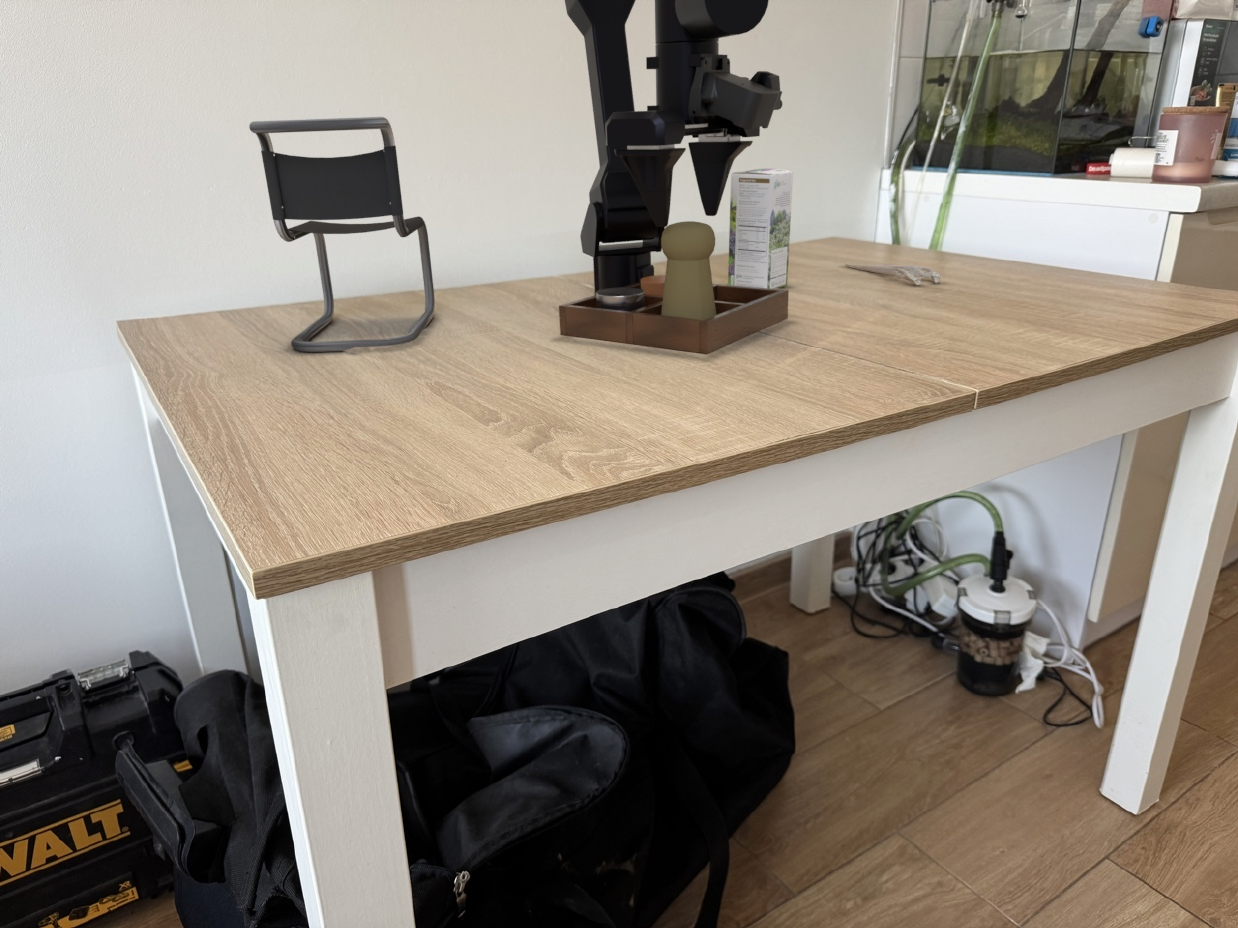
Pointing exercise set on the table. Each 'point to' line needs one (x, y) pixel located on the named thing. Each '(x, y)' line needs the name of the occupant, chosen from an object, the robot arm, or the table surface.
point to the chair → (339, 208)
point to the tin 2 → (653, 284)
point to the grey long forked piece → (901, 272)
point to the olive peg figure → (688, 270)
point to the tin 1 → (620, 299)
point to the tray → (678, 320)
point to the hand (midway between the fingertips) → (687, 221)
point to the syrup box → (760, 228)
